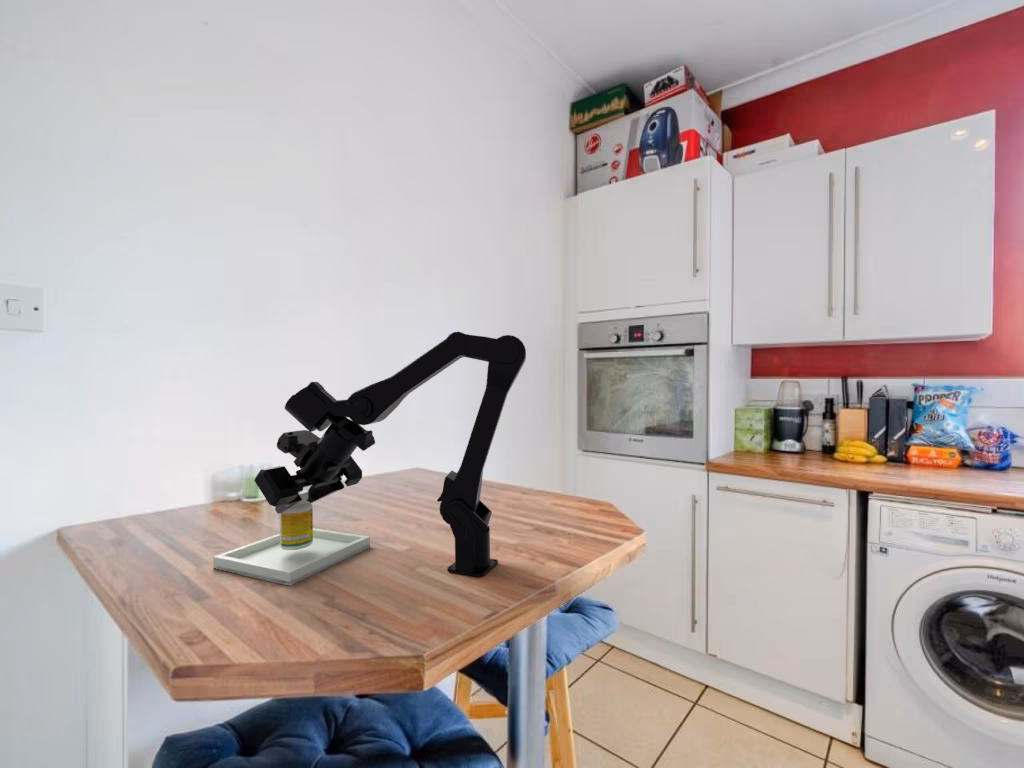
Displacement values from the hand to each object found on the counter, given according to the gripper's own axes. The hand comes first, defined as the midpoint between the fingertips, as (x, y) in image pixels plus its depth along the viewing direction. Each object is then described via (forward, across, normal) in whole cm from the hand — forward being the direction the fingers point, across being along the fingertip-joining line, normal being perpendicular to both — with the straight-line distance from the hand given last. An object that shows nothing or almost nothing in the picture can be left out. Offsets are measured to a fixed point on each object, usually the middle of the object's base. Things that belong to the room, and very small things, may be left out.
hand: (291, 507), depth 82 cm
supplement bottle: (+4, 0, +6) cm, 7 cm away
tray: (+5, 0, +7) cm, 9 cm away
